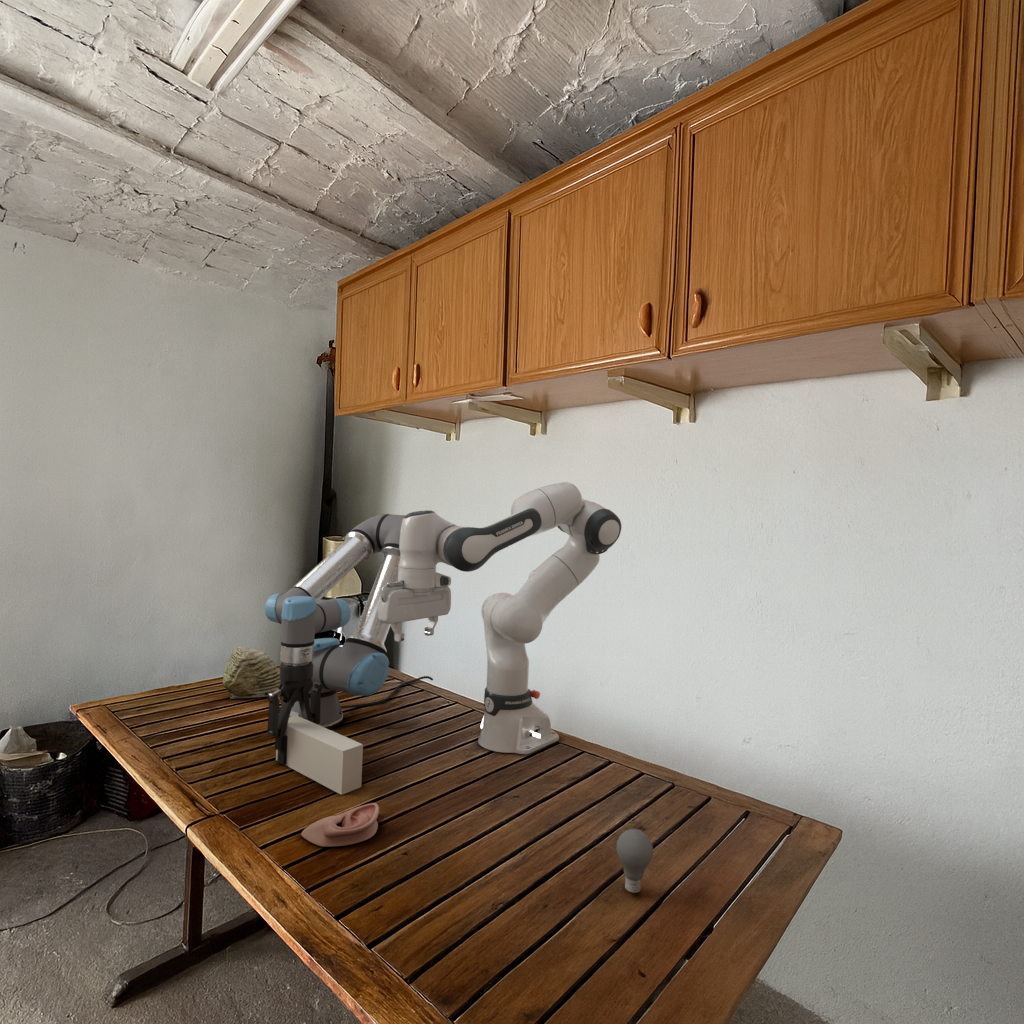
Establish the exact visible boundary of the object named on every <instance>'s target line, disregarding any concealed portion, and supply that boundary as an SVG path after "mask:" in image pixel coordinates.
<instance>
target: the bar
mask: <svg viewBox="0 0 1024 1024" xmlns="http://www.w3.org/2000/svg"><path fill="white" fill-rule="evenodd" d="M285 735H286V736H288V738H287V764H285V765H284V766H286V767H288V768H290V769H292V770H294V771H295V772H296V773H297V772H298V773H300V774H301V775H303V776H305V777H307V778H309V779H311V780H312V781H315V782H316V783H317V784H320V785H322V786H324V787H326V788H327V789H329V790H331V791H333V792H335V793H336V794H339V795H341V796H342V795H345V794H348V793H350V792H352V791H355V790H357V789H360V788H362V781H363V780H362V779H363V775H362V774H363V756H364V755H363V753H364V744H363V743H360V742H358V741H357V740H354V739H352V738H349V737H348V736H345V735H342V734H341V733H338V732H336V731H334V730H332V729H327V728H324V727H322V726H320V725H317V724H315V723H313V722H310V721H308V720H306V719H304V718H301V717H299V716H294V717H290V718H289V720H288V724H287V727H286V731H285ZM277 756H278V750H276V749H275V761H277Z"/></svg>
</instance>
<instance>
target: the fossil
mask: <svg viewBox="0 0 1024 1024" xmlns="http://www.w3.org/2000/svg"><path fill="white" fill-rule="evenodd" d="M222 676H223V677H222V685H223V687H224V688H225V690H226V691H228V693H229V698H230V699H250V698H264V697H267V694H268V693H269V692H272V693H273V692H275V691H277V690H278V688H279V686H280V668H278V667H277V665H276V663H275V662H274V660H273V659H272V658H271V657H270V656H269V655H268V654H267V653H266V652H265V650H264V649H263V648H260V647H258V648H251V647H247V646H246V647H245V646H238V647H237V648H236V649H235V650H233V651H232V653H231V656H230V657H229V659H228V660H227V663H226V666H225V668H224V671H223V675H222Z"/></svg>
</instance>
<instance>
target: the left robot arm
mask: <svg viewBox="0 0 1024 1024" xmlns="http://www.w3.org/2000/svg"><path fill="white" fill-rule="evenodd" d="M406 515H407V514H406ZM406 515H405V514H391V513H381V514H377V515H373V516H372V517H370V518H367V519H365V520H363V521H362V522H361V523H359V524H357V525H356V526H354V527H353V528H352V529H351V530H350V531H349V532H348V533H346V534H345V536H344V541H342V542H341V543H340V544H339V545H338V546H337V547H335V549H334V550H332V551H331V552H330V553H329V554H327V556H325V558H323V559H322V560H321V561H320V562H319V563H318V564H317V565H316V566H314V568H312V569H311V570H310V571H309V572H308V573H306V574H305V575H304V576H303V577H302V578H301V579H300V580H299V581H298V582H297V583H296V584H294V585H293V586H292V587H291V588H290V589H288V591H287V592H285V593H283V592H279V593H274V594H272V595H270V596H269V597H268V598H267V600H266V601H265V604H264V614H265V617H266V618H267V620H268V621H270V622H273V623H277V624H280V625H281V632H280V633H281V635H280V636H281V637H280V639H281V640H280V654H279V655H280V656H279V661H280V662H281V663H280V664H279V670H280V686H279V688H278V690H277V691H275V692H273V693H272V692H269V693H268V694H267V696H266V697H267V700H268V714H267V715H268V716H267V730H266V732H267V734H268V735H269V736H272V737H274V748H275V751H276V750H278V756H277V760H276V761H277V763H279V764H281V765H283V766H286V765H285V764H287V738H288V736H286V735H285V731H286V727H287V724H288V720H289V718H290V717H294V716H299V717H301V718H304V719H306V720H308V721H310V722H313V723H315V724H317V725H320V726H322V727H324V728H327V729H329V730H332V729H335V728H337V727H339V726H340V725H342V723H343V722H344V713H343V709H352V708H361V707H368V706H373V705H378V704H382V703H385V702H386V701H388V700H389V699H390V698H392V697H393V696H394V695H395V694H396V693H397V691H398V690H399V689H400V688H402V687H403V686H406V685H409V684H412V683H415V682H418V681H420V680H421V681H422V680H424V679H429V680H430V681H434V678H433V677H431V676H428V675H424V676H420V677H418V678H415V679H412V680H409V681H405V682H403V683H400V684H399V685H397V686H395V688H394V690H393V691H392V692H391V694H389V695H388V696H386V697H385V698H383V699H380V700H376V701H371V702H365V703H356V704H347V705H341V702H340V699H339V695H338V692H340V693H345V694H349V695H352V696H356V697H357V696H361V697H370V696H372V695H373V696H374V694H376V693H377V692H379V691H380V690H381V688H382V687H383V686H384V684H385V683H386V681H387V678H388V675H389V672H390V667H389V666H390V661H389V658H388V656H387V652H388V651H387V648H386V646H385V642H386V640H387V636H388V634H389V631H390V628H391V624H386V623H382V622H380V621H379V619H378V609H379V602H380V597H381V590H382V588H383V587H384V586H385V585H386V584H387V583H388V582H396V581H398V565H399V562H400V556H401V555H400V550H399V541H400V531H401V525H402V521H403V518H404V517H405V516H406ZM377 553H381V555H382V557H383V560H382V562H381V564H380V566H379V570H378V572H377V575H376V577H375V580H374V583H373V585H372V588H371V590H370V592H369V595H368V597H367V601H366V602H365V605H364V607H363V610H362V613H361V615H360V618H359V621H358V622H357V625H356V628H355V630H354V632H353V634H351V635H349V636H347V637H346V638H345V641H344V643H343V645H342V646H341V645H340V644H341V643H340V640H339V638H335V637H322V638H315V635H316V634H319V633H323V632H324V633H325V632H329V631H335V630H338V629H341V628H343V627H345V626H346V625H347V624H348V623H349V621H350V619H351V615H352V614H351V608H350V605H349V604H348V602H347V601H345V599H342V598H331V599H323V598H324V597H325V596H326V595H327V594H328V593H329V592H330V591H332V589H333V588H334V587H335V586H336V585H337V584H339V582H340V581H342V579H344V578H345V577H346V576H347V575H348V574H349V573H350V572H351V571H352V570H353V569H354V568H355V567H356V566H357V565H358V564H359V563H360V562H361V561H363V560H367V559H369V558H370V557H371V556H372V555H374V554H377ZM386 587H387V586H386ZM281 697H282V698H281ZM280 700H281V701H280ZM280 705H281V707H280Z"/></svg>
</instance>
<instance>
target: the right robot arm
mask: <svg viewBox="0 0 1024 1024" xmlns="http://www.w3.org/2000/svg"><path fill="white" fill-rule="evenodd" d="M555 528H558V530H560V531H561V532H563V533H565V534H566V535H568V538H567V540H566V542H565V544H564V545H563V546H562V547H560V548H559V549H558V550H556V551H555V552H553V553H552V554H551V555H550V556H549V557H548V558H546V559H545V560H544V561H543V562H541V563H540V564H539V565H538V566H537V567H535V569H532V571H531V572H530V573H529V574H528V577H527V579H526V581H525V583H524V584H523V585H522V586H521V588H520V589H519V590H518V591H517V592H516V593H514V594H511V593H508V592H496V593H492V594H491V595H488V596H487V598H486V599H485V600H484V601H483V602H482V605H481V611H480V613H481V617H482V621H483V628H484V629H483V630H484V640H485V648H486V659H487V660H486V661H487V662H486V663H487V664H486V666H487V667H486V687H485V688H484V696H483V704H484V706H483V707H484V711H483V712H484V713H483V717H482V720H481V723H480V733H479V736H478V739H477V743H478V745H479V746H480V747H482V748H483V749H486V750H489V751H492V752H496V753H505V754H506V753H509V754H519V755H529V754H530V755H531V754H532V753H534V752H536V751H538V750H541V749H543V748H545V747H547V746H549V745H552V744H554V743H556V742H559V740H560V735H559V734H558V733H557V732H556V731H554V730H553V729H552V727H551V726H552V725H551V719H550V717H549V714H547V713H546V712H545V711H544V710H543V709H542V708H540V707H539V706H538V705H536V704H535V703H534V702H533V699H536V700H538V699H539V698H540V696H541V692H540V691H538V690H535V689H532V690H531V689H529V674H530V672H529V671H530V660H529V656H528V653H527V649H526V644H530V643H532V642H534V641H535V640H537V639H538V637H540V635H541V632H542V630H543V625H544V623H545V622H546V621H547V619H548V617H549V616H550V615H551V613H552V612H553V610H555V608H556V607H557V606H558V605H559V604H560V603H561V602H562V601H563V600H564V599H565V598H566V597H568V596H569V595H570V594H571V593H572V592H573V591H575V590H576V589H577V588H578V587H579V586H580V585H581V584H582V583H584V581H585V580H586V579H588V578H589V576H590V575H591V574H592V573H593V572H594V570H595V569H596V568H597V566H598V565H599V563H600V558H601V554H604V553H606V552H607V551H608V550H609V549H610V548H611V547H612V546H613V545H615V543H616V542H617V541H618V540H619V538H620V535H621V532H622V521H621V519H620V518H619V517H618V515H617V514H616V513H614V512H613V511H612V510H610V509H608V508H606V507H604V506H602V505H600V504H599V503H597V502H594V501H591V500H587V499H584V498H583V496H582V493H581V491H580V489H578V487H577V486H576V485H575V484H573V483H571V482H567V481H562V482H557V483H552V484H547V485H544V486H541V487H538V488H535V489H533V490H530V491H528V492H526V493H523V494H522V495H521V496H519V497H517V498H516V499H514V501H513V503H512V505H511V508H510V515H509V516H507V517H505V518H502V519H500V520H498V521H495V522H493V523H491V524H489V525H486V526H483V527H473V526H471V527H470V526H461V525H457V524H455V523H452V522H450V521H448V520H446V519H444V518H442V517H441V516H439V515H438V514H437V513H436V511H433V510H430V509H429V510H417V511H412V512H409V513H406V516H405V517H404V518H403V521H402V525H401V531H400V541H399V550H400V555H401V556H400V562H399V565H398V581H396V582H388V583H387V584H386V585H385V586H384V587H383V588H382V590H381V597H380V602H379V609H378V619H379V621H380V622H382V623H386V624H391V626H390V628H391V630H392V631H393V633H394V641H395V642H398V643H399V642H403V641H405V633H404V632H402V630H401V627H402V625H403V623H405V622H410V621H411V622H412V621H417V620H423V619H427V620H428V623H427V626H425V627H424V635H425V636H427V637H429V636H434V634H435V628H436V626H437V624H438V623H439V622H438V621H439V617H443V616H447V615H449V613H450V611H451V607H452V590H451V588H450V586H451V585H452V578H451V576H449V575H446V574H444V573H443V574H442V573H440V572H437V564H439V563H443V564H445V565H447V566H450V567H453V568H454V569H457V570H458V571H461V572H465V573H469V572H474V571H476V570H478V569H479V570H480V569H481V568H482V567H483V566H484V565H485V564H486V563H487V562H488V561H489V560H490V559H491V558H492V557H493V556H494V555H495V554H497V553H499V552H500V551H502V550H504V549H506V548H508V547H511V546H512V545H514V544H516V543H518V542H521V541H523V540H524V539H526V538H528V537H532V536H535V535H536V536H537V535H539V534H542V533H545V532H547V531H550V530H552V529H555ZM386 586H387V587H386Z"/></svg>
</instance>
